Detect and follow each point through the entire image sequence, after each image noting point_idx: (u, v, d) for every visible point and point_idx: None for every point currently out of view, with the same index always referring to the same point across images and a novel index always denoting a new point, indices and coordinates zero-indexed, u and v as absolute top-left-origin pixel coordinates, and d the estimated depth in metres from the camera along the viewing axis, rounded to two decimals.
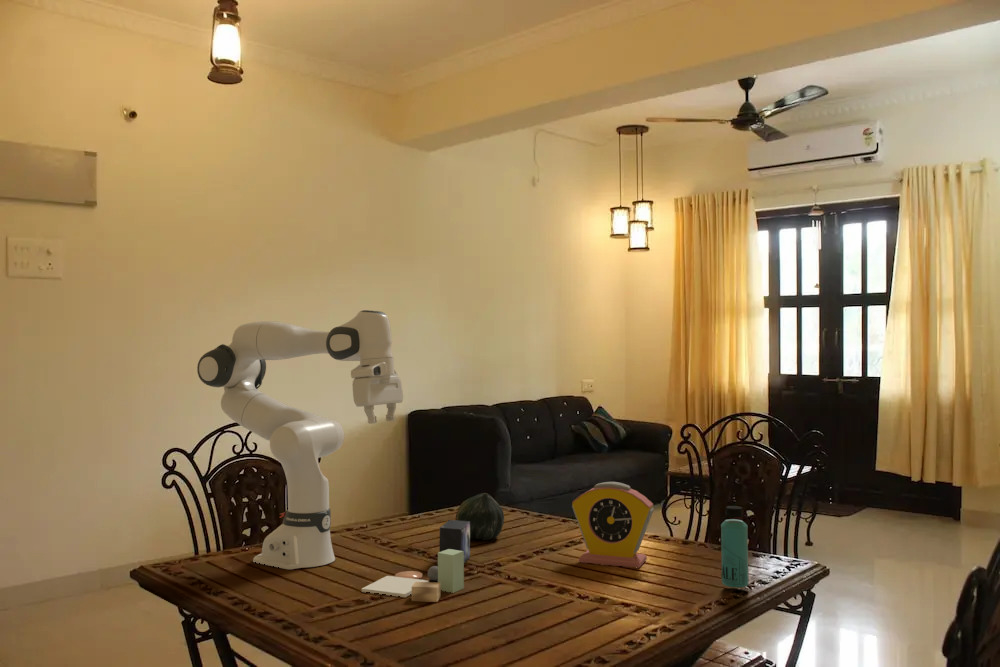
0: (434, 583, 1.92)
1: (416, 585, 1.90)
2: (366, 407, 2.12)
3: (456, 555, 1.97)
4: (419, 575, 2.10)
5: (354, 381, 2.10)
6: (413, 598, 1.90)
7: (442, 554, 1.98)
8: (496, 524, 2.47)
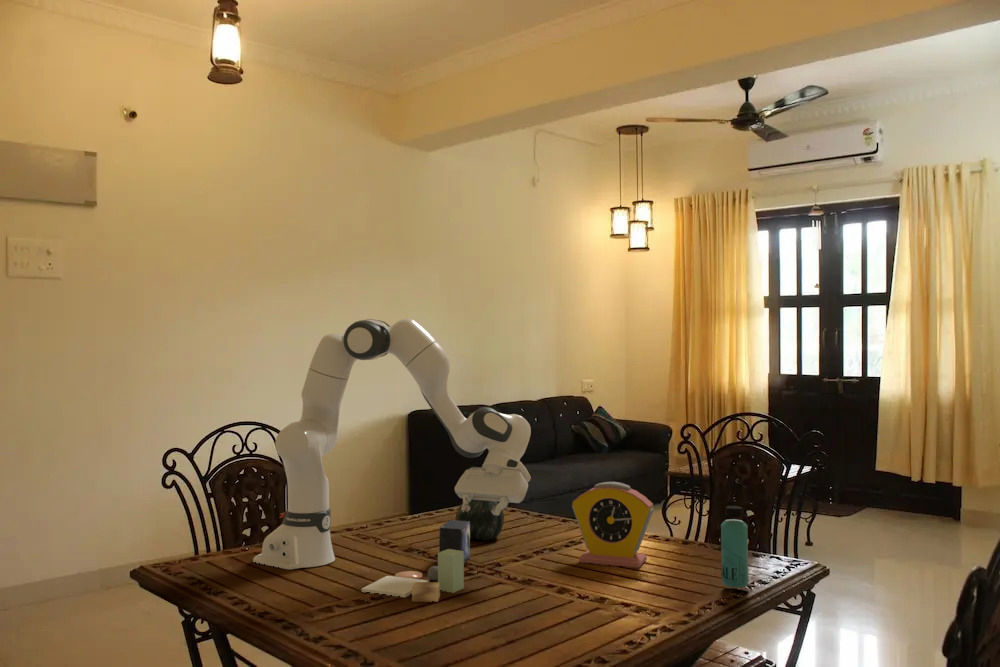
0: (434, 583, 1.92)
1: (416, 586, 1.90)
2: (506, 499, 2.08)
3: (456, 555, 1.97)
4: (419, 575, 2.10)
5: (521, 474, 2.10)
6: (413, 598, 1.90)
7: (442, 554, 1.98)
8: (496, 524, 2.47)
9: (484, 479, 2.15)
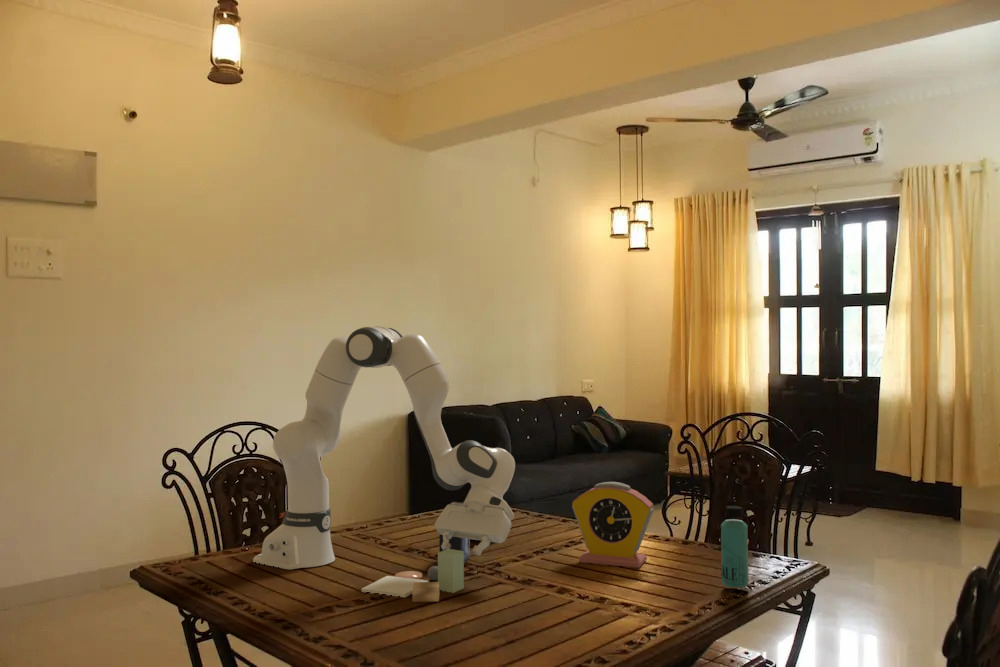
0: (433, 583, 1.93)
1: (416, 586, 1.90)
2: (488, 539, 2.01)
3: (456, 555, 1.97)
4: (419, 575, 2.10)
5: (504, 513, 2.03)
6: (414, 598, 1.89)
7: (442, 554, 1.98)
8: None
9: (466, 516, 2.08)
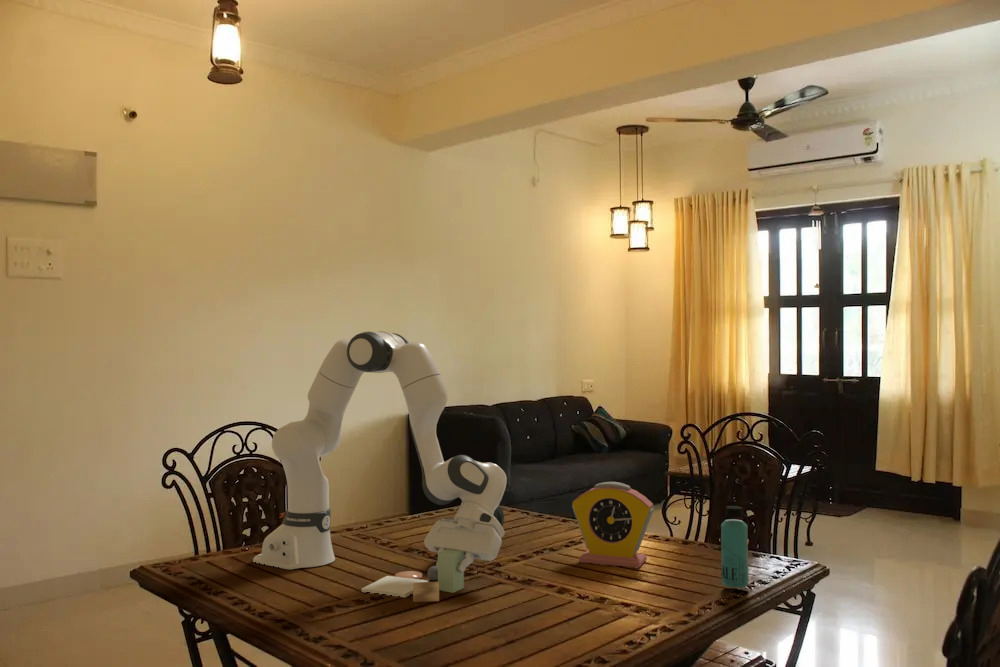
0: (433, 582, 1.93)
1: (416, 586, 1.90)
2: (471, 556, 1.98)
3: (456, 555, 1.97)
4: (419, 575, 2.10)
5: (495, 530, 1.99)
6: (415, 599, 1.89)
7: (442, 554, 1.98)
8: None
9: (455, 533, 2.04)
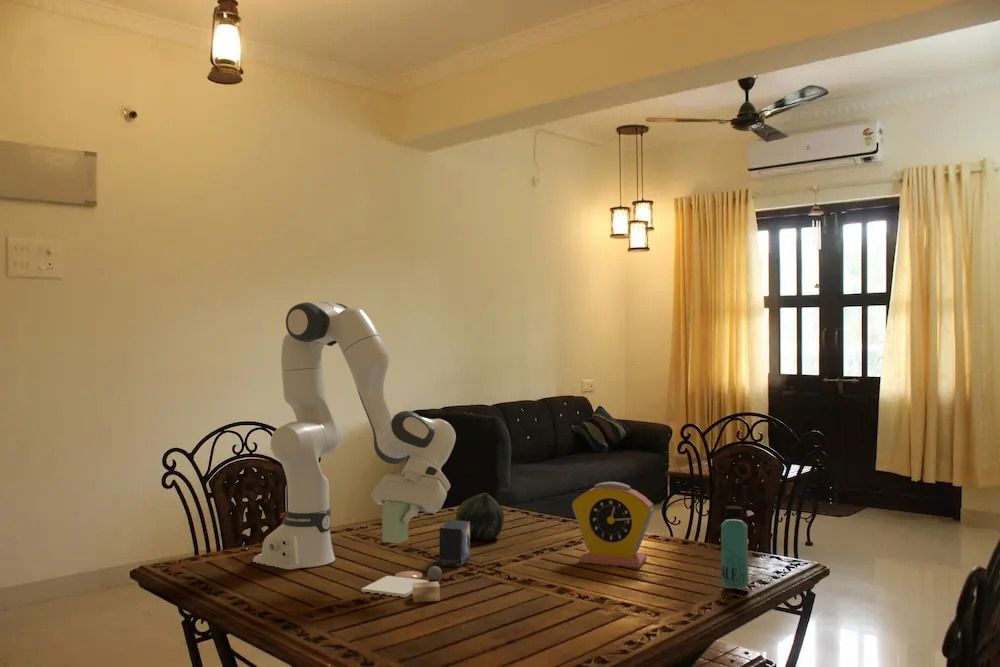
0: (432, 582, 1.93)
1: (417, 586, 1.90)
2: (416, 507, 2.00)
3: (400, 506, 1.99)
4: (419, 575, 2.10)
5: (440, 483, 2.01)
6: (415, 599, 1.89)
7: (387, 505, 1.99)
8: (496, 524, 2.47)
9: (402, 486, 2.06)
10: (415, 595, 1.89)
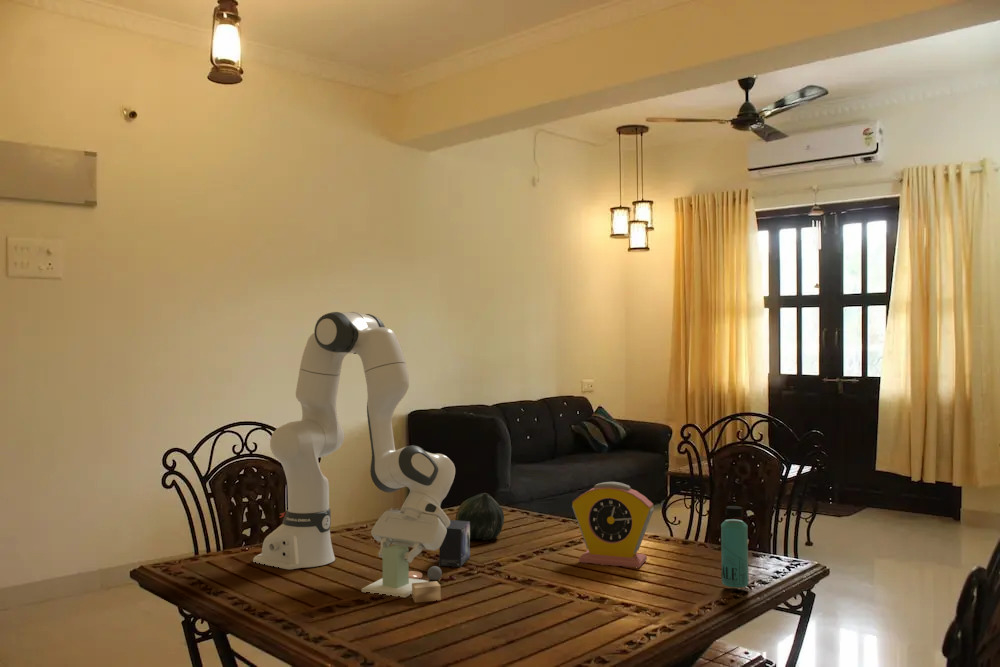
0: (432, 582, 1.93)
1: (418, 586, 1.90)
2: (419, 546, 1.99)
3: (400, 551, 1.99)
4: (419, 575, 2.10)
5: (439, 520, 2.01)
6: (416, 599, 1.89)
7: (386, 550, 1.99)
8: (496, 524, 2.47)
9: (402, 523, 2.05)
10: (416, 595, 1.89)
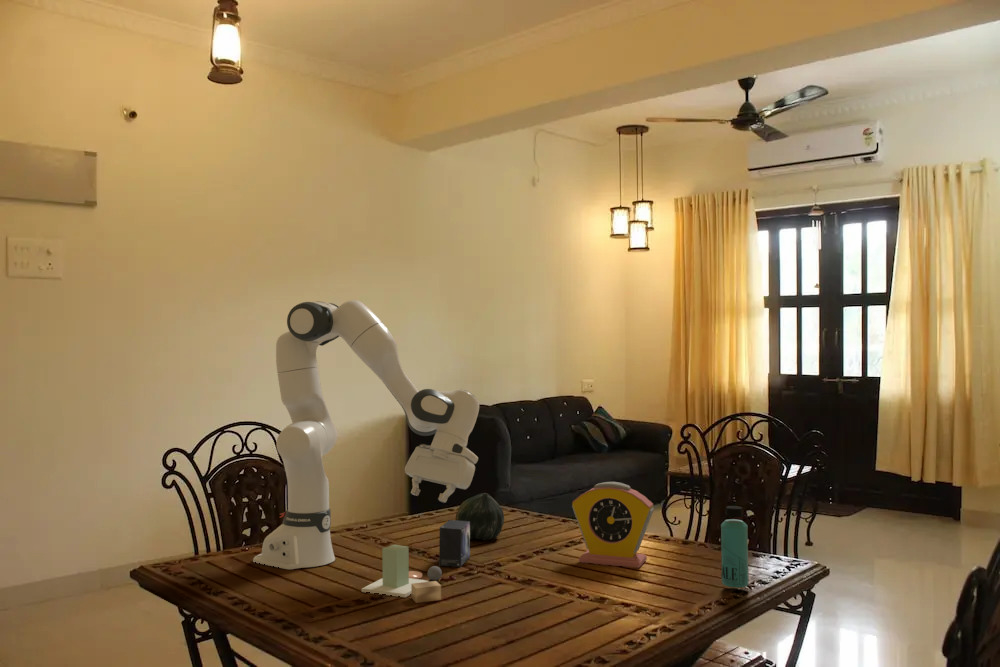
0: (431, 582, 1.93)
1: (419, 587, 1.89)
2: (452, 486, 2.09)
3: (400, 551, 1.99)
4: (419, 575, 2.10)
5: (467, 460, 2.09)
6: (417, 600, 1.89)
7: (386, 550, 1.99)
8: (496, 524, 2.47)
9: (432, 462, 2.14)
10: (417, 596, 1.89)
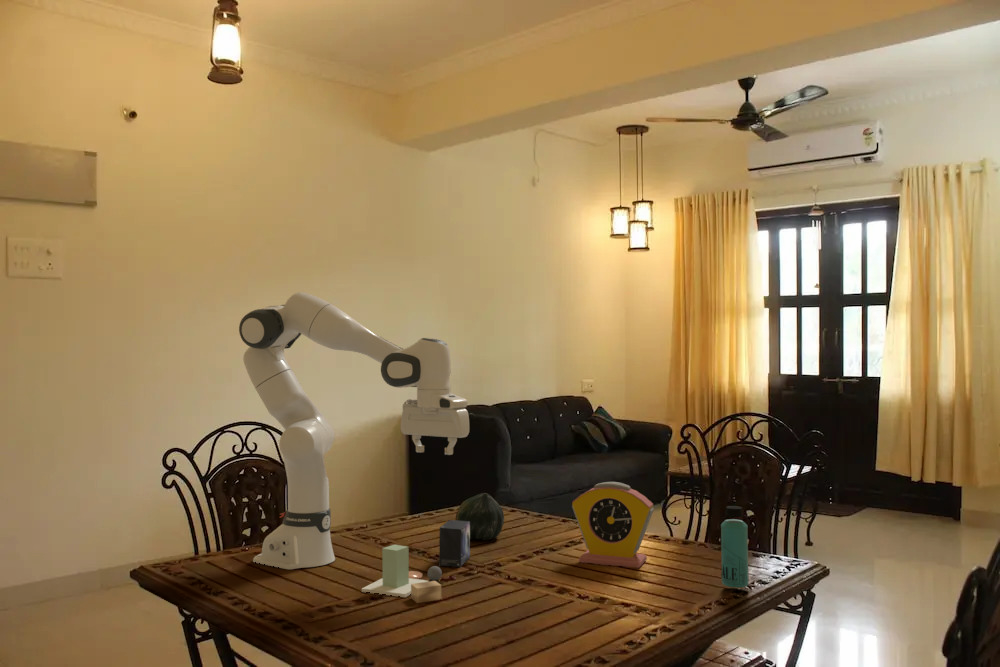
0: (431, 582, 1.93)
1: (419, 587, 1.89)
2: (453, 438, 2.10)
3: (400, 551, 1.99)
4: (419, 575, 2.10)
5: (458, 412, 2.07)
6: (418, 600, 1.88)
7: (386, 550, 1.99)
8: (496, 524, 2.47)
9: (425, 418, 2.13)
10: (418, 596, 1.88)
